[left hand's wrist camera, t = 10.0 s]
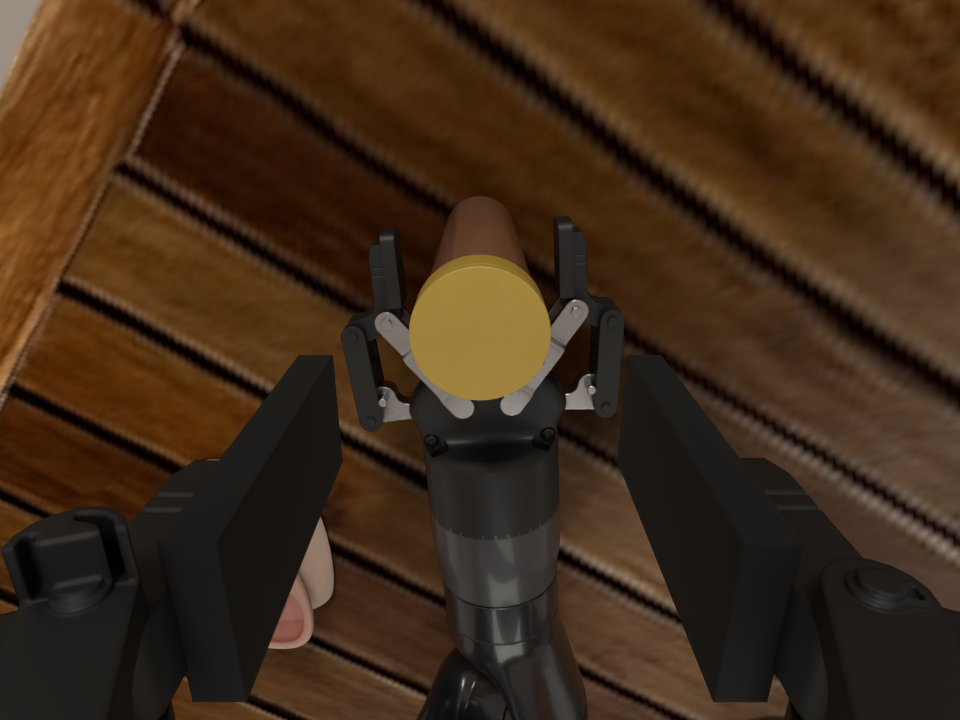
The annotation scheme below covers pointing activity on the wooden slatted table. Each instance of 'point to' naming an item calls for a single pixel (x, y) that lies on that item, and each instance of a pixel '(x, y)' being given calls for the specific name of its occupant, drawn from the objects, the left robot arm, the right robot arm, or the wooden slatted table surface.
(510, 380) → the lid
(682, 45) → the wooden slatted table surface
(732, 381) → the wooden slatted table surface
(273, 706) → the wooden slatted table surface
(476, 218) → the brown long cylinder
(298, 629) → the anatomical model
